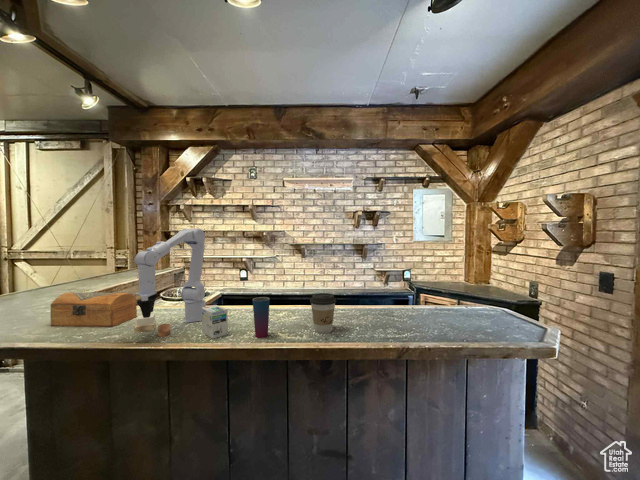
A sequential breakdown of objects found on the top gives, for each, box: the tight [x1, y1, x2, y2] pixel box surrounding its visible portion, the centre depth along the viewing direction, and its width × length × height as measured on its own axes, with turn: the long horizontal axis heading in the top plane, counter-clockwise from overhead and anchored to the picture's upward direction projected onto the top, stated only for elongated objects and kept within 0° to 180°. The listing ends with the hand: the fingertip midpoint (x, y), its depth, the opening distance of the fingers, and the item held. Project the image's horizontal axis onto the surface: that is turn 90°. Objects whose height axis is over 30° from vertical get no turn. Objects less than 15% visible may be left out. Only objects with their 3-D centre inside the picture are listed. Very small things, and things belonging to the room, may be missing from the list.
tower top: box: [136, 313, 156, 326], centre depth 118 cm, size 6×6×3 cm
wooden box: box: [50, 291, 138, 328], centre depth 128 cm, size 30×16×14 cm, turn 85°
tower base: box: [133, 319, 157, 334], centre depth 117 cm, size 7×7×3 cm
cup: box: [252, 296, 271, 339], centre depth 109 cm, size 7×7×15 cm
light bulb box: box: [201, 304, 229, 340], centre depth 112 cm, size 11×7×11 cm, turn 45°
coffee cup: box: [309, 292, 337, 334], centre depth 114 cm, size 11×11×15 cm
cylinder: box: [157, 323, 171, 338], centre depth 111 cm, size 4×4×4 cm
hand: (148, 314), depth 108 cm, fingers open, 7 cm apart
